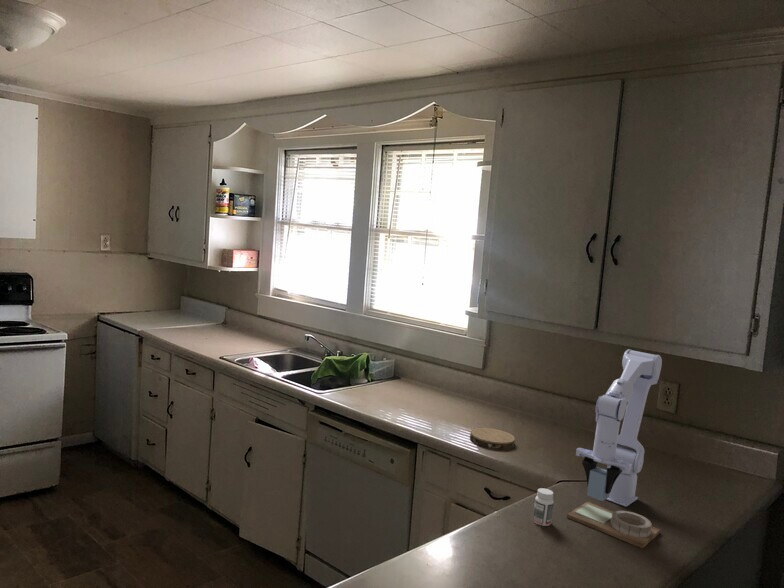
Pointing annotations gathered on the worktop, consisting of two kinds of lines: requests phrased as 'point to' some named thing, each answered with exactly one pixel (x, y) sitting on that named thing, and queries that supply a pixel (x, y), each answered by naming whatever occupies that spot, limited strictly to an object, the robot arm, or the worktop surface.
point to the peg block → (597, 484)
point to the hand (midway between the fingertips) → (598, 489)
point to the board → (610, 529)
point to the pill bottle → (543, 507)
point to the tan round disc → (492, 438)
